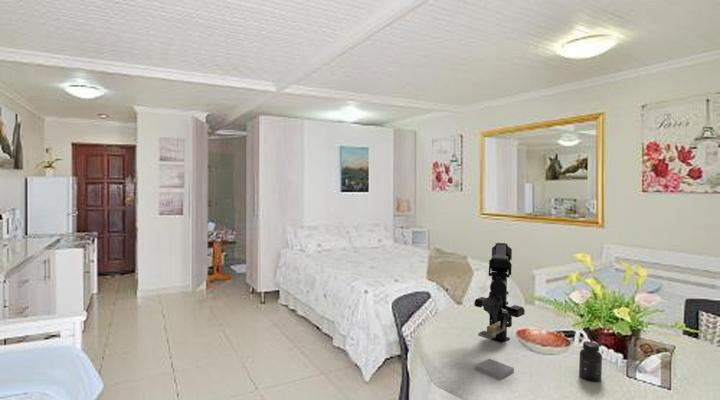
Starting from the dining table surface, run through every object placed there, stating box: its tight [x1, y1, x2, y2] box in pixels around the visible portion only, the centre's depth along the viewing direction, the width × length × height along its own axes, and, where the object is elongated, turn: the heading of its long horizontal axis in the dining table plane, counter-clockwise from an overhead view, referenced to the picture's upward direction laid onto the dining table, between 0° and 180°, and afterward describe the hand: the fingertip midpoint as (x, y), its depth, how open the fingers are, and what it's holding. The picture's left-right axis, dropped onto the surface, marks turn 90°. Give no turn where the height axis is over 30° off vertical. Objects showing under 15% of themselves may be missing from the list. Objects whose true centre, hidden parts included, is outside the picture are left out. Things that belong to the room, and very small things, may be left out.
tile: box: [474, 358, 515, 381], centre depth 149 cm, size 2×10×9 cm
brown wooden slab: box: [477, 321, 505, 340], centre depth 161 cm, size 13×5×3 cm, turn 131°
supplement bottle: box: [578, 340, 603, 383], centre depth 145 cm, size 7×7×12 cm
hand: (498, 328), depth 163 cm, fingers closed on brown wooden slab, 3 cm apart
